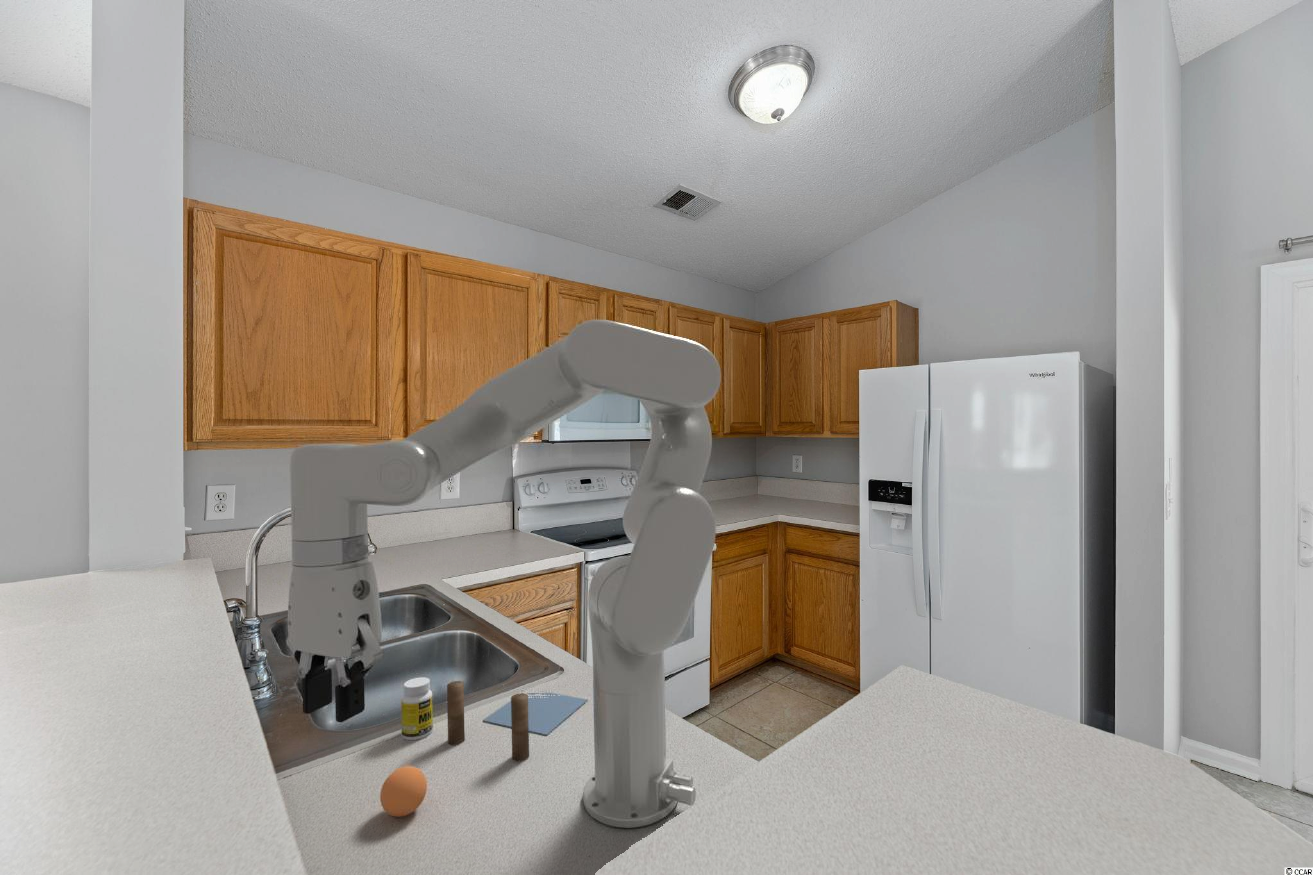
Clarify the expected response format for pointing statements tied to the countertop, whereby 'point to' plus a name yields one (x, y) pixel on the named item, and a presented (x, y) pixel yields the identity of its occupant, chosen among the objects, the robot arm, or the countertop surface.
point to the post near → (520, 727)
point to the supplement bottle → (417, 709)
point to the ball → (403, 791)
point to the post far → (455, 712)
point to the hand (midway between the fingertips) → (333, 710)
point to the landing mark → (541, 712)
